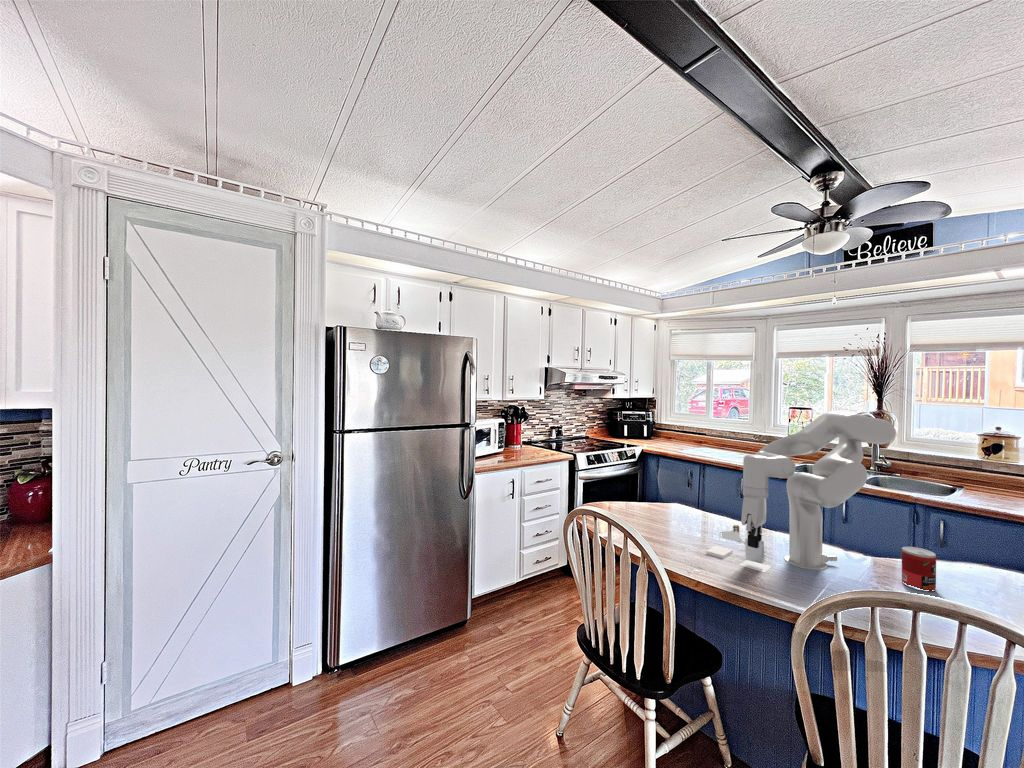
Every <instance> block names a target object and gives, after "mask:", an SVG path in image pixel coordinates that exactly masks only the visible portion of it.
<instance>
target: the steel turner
mask: <svg viewBox="0 0 1024 768" xmlns="http://www.w3.org/2000/svg"><path fill="white" fill-rule="evenodd" d="M754 531H755V530H754ZM744 542H745V544H744V546H745V548H744V549H745V560H748V561H753V562H757V563H761V564H765V562H766V561H765V544H764V540H763V539H762V540H758V548H753V547H749V546H748V545H747V544H748V537H747V538H745V539H744Z"/></svg>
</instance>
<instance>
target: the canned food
mask: <svg viewBox="0 0 1024 768" xmlns="http://www.w3.org/2000/svg"><path fill="white" fill-rule="evenodd" d="M936 555H937V554H936V553H935V552H933V551H931V550H928V549H925V548H921V547H915V546H902V547H901V582H902V583H903V582H904V583H906V584H907V585H911V586H914V587H917V588H920V589H923V590H929V591H932V590H935V591H936V589H937V556H936Z"/></svg>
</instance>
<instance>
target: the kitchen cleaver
mask: <svg viewBox="0 0 1024 768" xmlns="http://www.w3.org/2000/svg"><path fill="white" fill-rule="evenodd" d="M732 528H733V531H727V530H726V531H723V530H722V532H720V534H721V533H722V539H725V540H730V541H734V542H736V543H741V544H744V545H745V540H743V539H742V538H741V536H740V526H739V525H737V524H734V525H733V527H732Z"/></svg>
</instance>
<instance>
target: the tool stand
mask: <svg viewBox="0 0 1024 768" xmlns="http://www.w3.org/2000/svg"><path fill="white" fill-rule="evenodd" d="M738 566H739V567H740V566H741V567H744V568H747V569H750V570H753V571H757V572H758V571H759V572H761V573H766V572H767V571H769V570H770V569H771V568H772V566H771V565H768V564H765V563H757V562H753V561H748V560H746V559H745V560H744V561H743V562H741V563H739V564H738Z"/></svg>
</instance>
